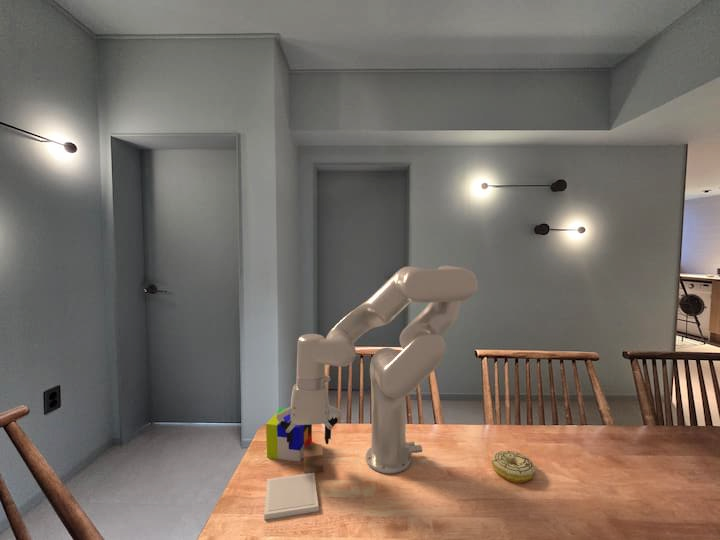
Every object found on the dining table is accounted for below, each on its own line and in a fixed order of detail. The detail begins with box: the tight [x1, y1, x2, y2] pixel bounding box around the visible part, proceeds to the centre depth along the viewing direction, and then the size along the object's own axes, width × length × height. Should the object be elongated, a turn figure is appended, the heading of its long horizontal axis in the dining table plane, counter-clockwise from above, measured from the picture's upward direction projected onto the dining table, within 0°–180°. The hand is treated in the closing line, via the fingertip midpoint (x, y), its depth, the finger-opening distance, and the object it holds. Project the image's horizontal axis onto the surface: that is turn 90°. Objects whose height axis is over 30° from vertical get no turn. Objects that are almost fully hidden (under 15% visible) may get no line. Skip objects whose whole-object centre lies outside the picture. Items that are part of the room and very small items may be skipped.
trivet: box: [263, 473, 320, 520], centre depth 86 cm, size 12×12×1 cm
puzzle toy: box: [265, 407, 313, 462], centre depth 105 cm, size 10×10×10 cm
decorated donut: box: [491, 450, 537, 484], centre depth 95 cm, size 10×11×4 cm
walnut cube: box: [302, 443, 324, 474], centre depth 97 cm, size 5×5×5 cm
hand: (308, 442), depth 96 cm, fingers open, 9 cm apart
